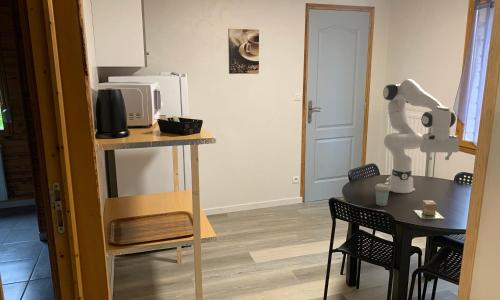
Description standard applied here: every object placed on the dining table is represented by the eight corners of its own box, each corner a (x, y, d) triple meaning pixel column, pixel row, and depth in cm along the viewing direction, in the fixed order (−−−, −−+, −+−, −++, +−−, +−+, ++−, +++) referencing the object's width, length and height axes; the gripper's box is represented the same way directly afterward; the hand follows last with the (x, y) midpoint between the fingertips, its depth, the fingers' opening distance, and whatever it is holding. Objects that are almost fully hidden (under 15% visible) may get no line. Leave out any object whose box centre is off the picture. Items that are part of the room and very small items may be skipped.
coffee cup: (390, 206, 222) (391, 187, 219) (375, 206, 223) (376, 186, 221) (387, 202, 230) (388, 183, 227) (373, 201, 231) (374, 182, 229)
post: (413, 211, 215) (414, 199, 213) (435, 211, 214) (436, 199, 212) (421, 219, 203) (422, 206, 201) (444, 219, 202) (445, 206, 201)
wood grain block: (421, 211, 211) (422, 200, 209) (431, 211, 210) (432, 200, 209) (425, 215, 206) (426, 203, 204) (435, 215, 205) (436, 203, 204)
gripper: (457, 134, 211) (454, 158, 214) (419, 134, 213) (417, 158, 215) (462, 136, 205) (460, 161, 208) (424, 136, 207) (422, 161, 209)
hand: (438, 159), depth 212 cm, fingers open, 8 cm apart
